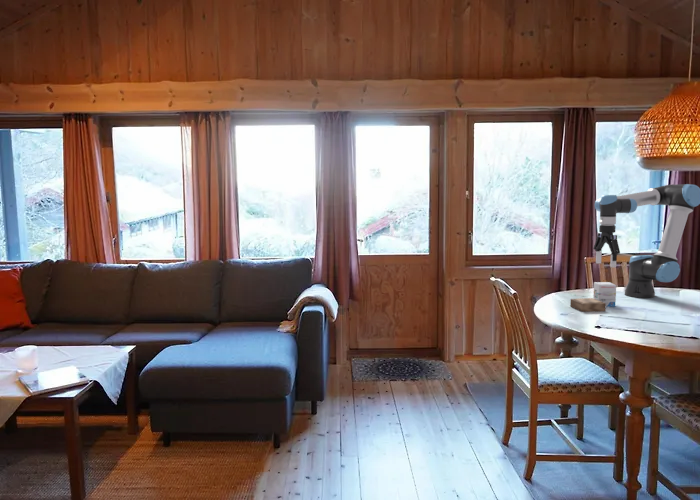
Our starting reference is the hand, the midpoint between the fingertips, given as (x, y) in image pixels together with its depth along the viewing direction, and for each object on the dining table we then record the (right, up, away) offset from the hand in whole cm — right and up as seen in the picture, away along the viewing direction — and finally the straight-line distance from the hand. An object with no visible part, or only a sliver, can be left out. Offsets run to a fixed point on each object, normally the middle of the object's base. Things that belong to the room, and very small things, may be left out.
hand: (605, 265), depth 271 cm
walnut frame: (-12, -22, -5) cm, 26 cm away
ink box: (0, -21, +3) cm, 21 cm away
